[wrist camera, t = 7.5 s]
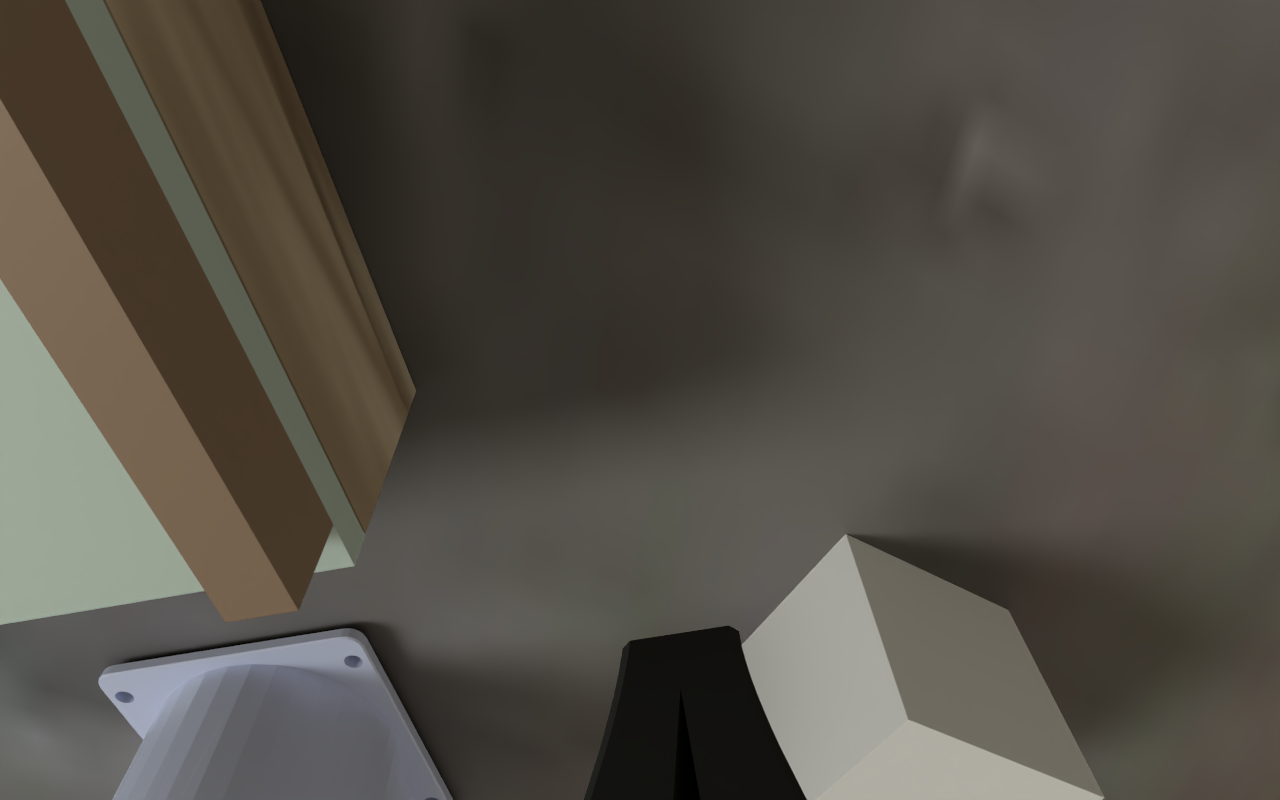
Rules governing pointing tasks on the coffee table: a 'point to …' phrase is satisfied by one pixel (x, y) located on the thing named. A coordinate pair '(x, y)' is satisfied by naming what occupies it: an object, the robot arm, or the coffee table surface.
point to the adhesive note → (908, 690)
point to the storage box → (277, 222)
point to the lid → (134, 359)
